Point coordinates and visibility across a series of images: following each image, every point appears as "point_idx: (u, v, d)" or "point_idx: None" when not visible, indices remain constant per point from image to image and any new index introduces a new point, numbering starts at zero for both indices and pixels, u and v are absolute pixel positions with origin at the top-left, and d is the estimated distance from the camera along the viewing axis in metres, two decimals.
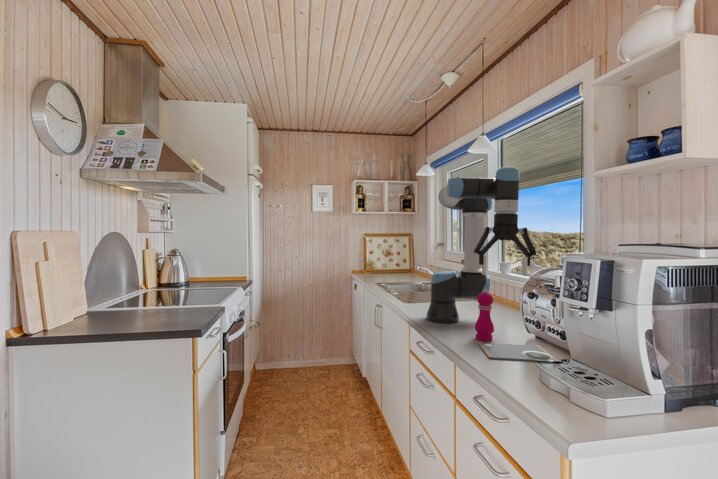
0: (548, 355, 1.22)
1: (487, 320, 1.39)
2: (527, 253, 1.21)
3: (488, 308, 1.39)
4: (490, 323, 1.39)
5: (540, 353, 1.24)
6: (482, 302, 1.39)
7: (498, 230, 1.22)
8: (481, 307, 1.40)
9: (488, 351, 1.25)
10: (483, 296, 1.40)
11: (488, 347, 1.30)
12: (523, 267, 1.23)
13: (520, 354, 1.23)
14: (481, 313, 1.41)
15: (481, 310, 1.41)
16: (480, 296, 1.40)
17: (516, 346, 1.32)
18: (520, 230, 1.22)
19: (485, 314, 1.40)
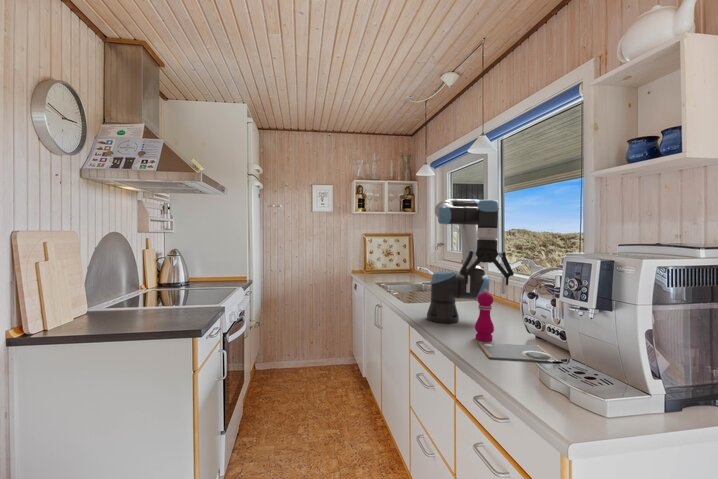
0: (548, 355, 1.22)
1: (487, 320, 1.39)
2: (505, 274, 1.39)
3: (488, 308, 1.39)
4: (490, 323, 1.39)
5: (540, 353, 1.24)
6: (482, 302, 1.39)
7: (480, 254, 1.40)
8: (481, 307, 1.40)
9: (488, 351, 1.25)
10: (483, 296, 1.40)
11: (488, 347, 1.30)
12: (502, 286, 1.41)
13: (520, 354, 1.23)
14: (481, 313, 1.41)
15: (481, 310, 1.41)
16: (480, 296, 1.40)
17: (516, 346, 1.32)
18: (499, 254, 1.40)
19: (485, 314, 1.40)
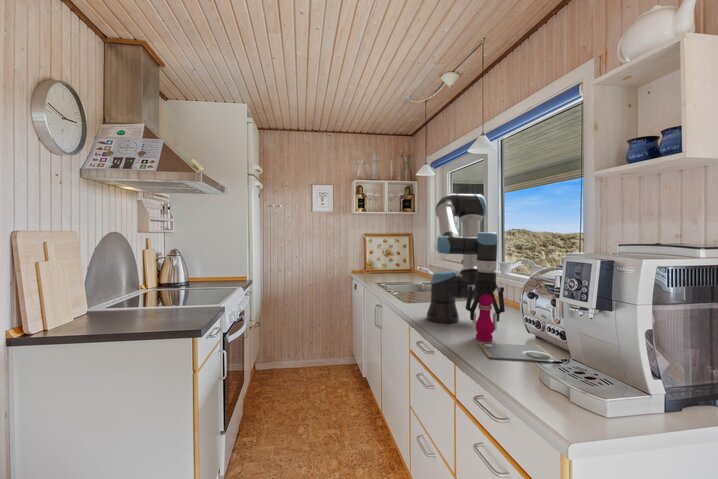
0: (548, 355, 1.22)
1: (487, 320, 1.39)
2: (497, 310, 1.40)
3: (488, 308, 1.39)
4: (490, 323, 1.39)
5: (540, 353, 1.24)
6: (482, 302, 1.39)
7: (479, 286, 1.41)
8: (481, 307, 1.40)
9: (488, 351, 1.25)
10: (483, 296, 1.40)
11: (488, 347, 1.30)
12: (493, 322, 1.41)
13: (520, 354, 1.23)
14: (481, 313, 1.41)
15: (481, 310, 1.41)
16: None
17: (516, 346, 1.32)
18: (498, 288, 1.41)
19: (485, 314, 1.40)
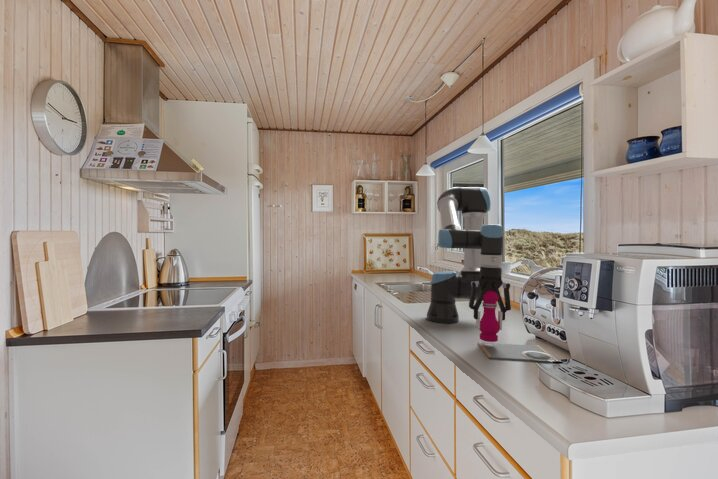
0: (548, 355, 1.22)
1: (492, 319, 1.29)
2: (503, 308, 1.30)
3: (493, 306, 1.29)
4: (495, 322, 1.29)
5: (540, 353, 1.24)
6: (487, 299, 1.29)
7: (483, 282, 1.31)
8: (485, 305, 1.30)
9: (488, 351, 1.25)
10: (488, 293, 1.30)
11: (488, 347, 1.30)
12: (499, 321, 1.31)
13: (520, 354, 1.23)
14: (485, 311, 1.31)
15: (485, 308, 1.31)
16: None
17: (516, 346, 1.32)
18: (503, 284, 1.31)
19: (490, 312, 1.30)
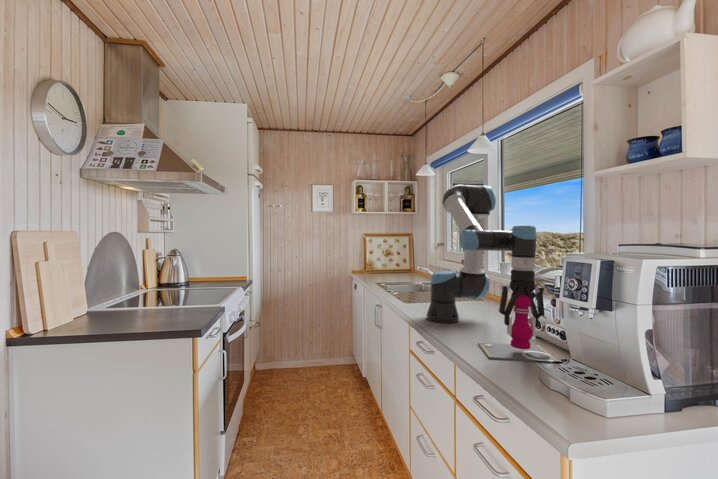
0: (548, 355, 1.22)
1: (525, 325, 1.22)
2: (536, 313, 1.23)
3: (526, 311, 1.22)
4: (528, 328, 1.22)
5: (540, 353, 1.24)
6: (519, 304, 1.23)
7: (515, 286, 1.24)
8: (517, 310, 1.23)
9: (488, 351, 1.25)
10: (520, 298, 1.23)
11: (488, 347, 1.30)
12: (531, 327, 1.25)
13: (520, 354, 1.23)
14: (517, 317, 1.24)
15: (517, 313, 1.24)
16: (516, 298, 1.24)
17: None
18: (536, 288, 1.24)
19: (523, 318, 1.23)
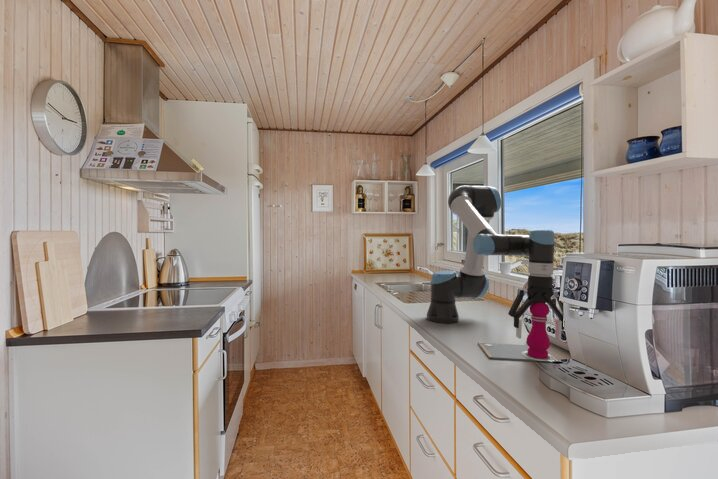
0: (548, 355, 1.22)
1: (543, 334, 1.19)
2: (561, 317, 1.20)
3: (544, 319, 1.19)
4: (546, 337, 1.19)
5: None
6: (537, 312, 1.19)
7: (533, 293, 1.21)
8: (535, 318, 1.20)
9: (488, 351, 1.25)
10: (538, 305, 1.20)
11: (488, 347, 1.30)
12: (557, 331, 1.21)
13: (520, 354, 1.23)
14: (535, 325, 1.21)
15: (535, 322, 1.21)
16: (534, 305, 1.20)
17: (516, 346, 1.32)
18: (555, 293, 1.21)
19: (540, 326, 1.20)
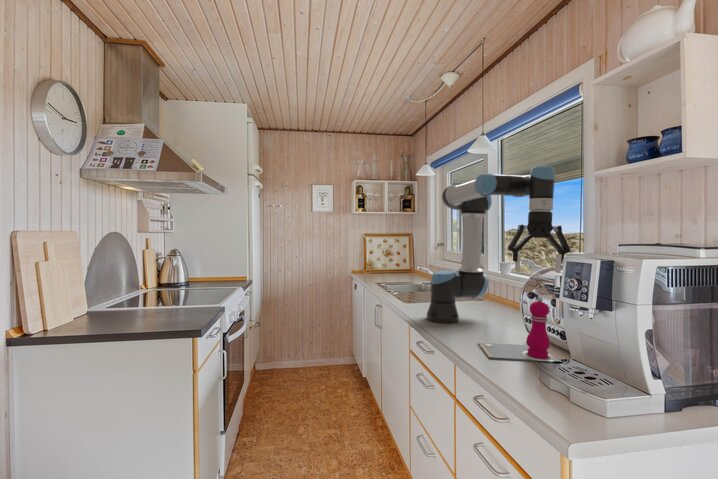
0: (548, 355, 1.22)
1: (543, 334, 1.19)
2: (561, 250, 1.24)
3: (544, 320, 1.19)
4: (546, 337, 1.19)
5: None
6: (537, 313, 1.19)
7: (532, 228, 1.24)
8: (535, 318, 1.20)
9: (488, 351, 1.25)
10: (538, 305, 1.19)
11: (488, 347, 1.30)
12: (557, 264, 1.25)
13: (520, 354, 1.23)
14: (535, 325, 1.21)
15: (535, 322, 1.20)
16: (534, 305, 1.20)
17: (516, 346, 1.32)
18: (554, 228, 1.24)
19: (540, 326, 1.20)
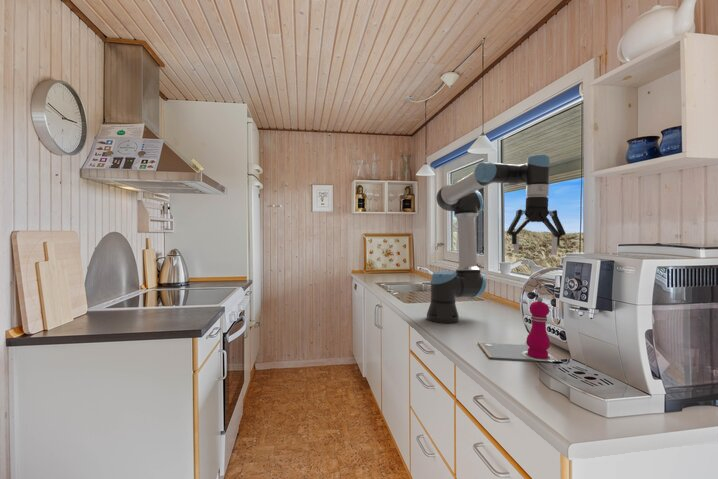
0: (548, 355, 1.22)
1: (543, 334, 1.19)
2: (557, 233, 1.32)
3: (544, 320, 1.19)
4: (546, 337, 1.19)
5: None
6: (537, 313, 1.19)
7: (530, 212, 1.33)
8: (535, 318, 1.20)
9: (488, 351, 1.25)
10: (538, 305, 1.19)
11: (488, 347, 1.30)
12: (553, 246, 1.33)
13: (520, 354, 1.23)
14: (535, 325, 1.21)
15: (535, 322, 1.20)
16: (534, 305, 1.20)
17: (516, 346, 1.32)
18: (550, 212, 1.33)
19: (540, 326, 1.20)
